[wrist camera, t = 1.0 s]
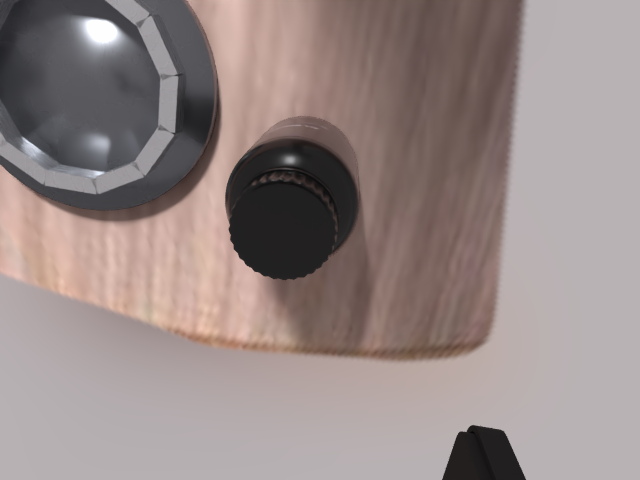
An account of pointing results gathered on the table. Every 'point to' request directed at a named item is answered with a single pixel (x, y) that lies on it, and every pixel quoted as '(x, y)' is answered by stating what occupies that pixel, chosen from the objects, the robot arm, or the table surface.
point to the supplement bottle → (293, 198)
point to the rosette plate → (104, 98)
